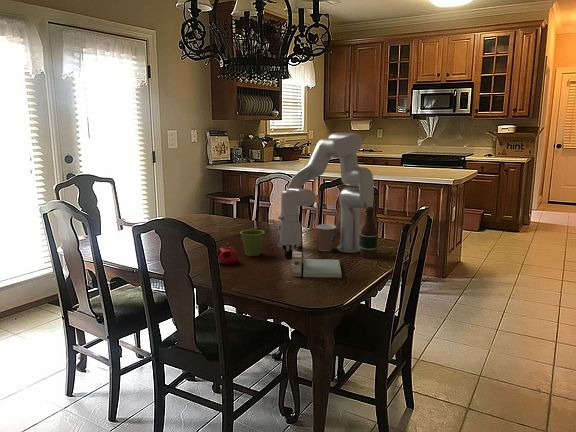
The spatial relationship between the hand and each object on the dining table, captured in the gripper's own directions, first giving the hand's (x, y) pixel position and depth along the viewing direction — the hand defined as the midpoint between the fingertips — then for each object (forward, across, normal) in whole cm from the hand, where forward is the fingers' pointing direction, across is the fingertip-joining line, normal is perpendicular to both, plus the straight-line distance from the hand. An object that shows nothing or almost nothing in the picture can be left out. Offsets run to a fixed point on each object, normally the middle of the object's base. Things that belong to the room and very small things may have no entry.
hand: (288, 259), depth 209 cm
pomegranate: (+5, -20, +21) cm, 30 cm away
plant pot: (+4, -5, +28) cm, 28 cm away
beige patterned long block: (+4, +2, -3) cm, 6 cm away
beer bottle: (+3, +43, -2) cm, 43 cm away
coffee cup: (+3, +32, +19) cm, 37 cm away
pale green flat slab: (+4, +12, -9) cm, 15 cm away
